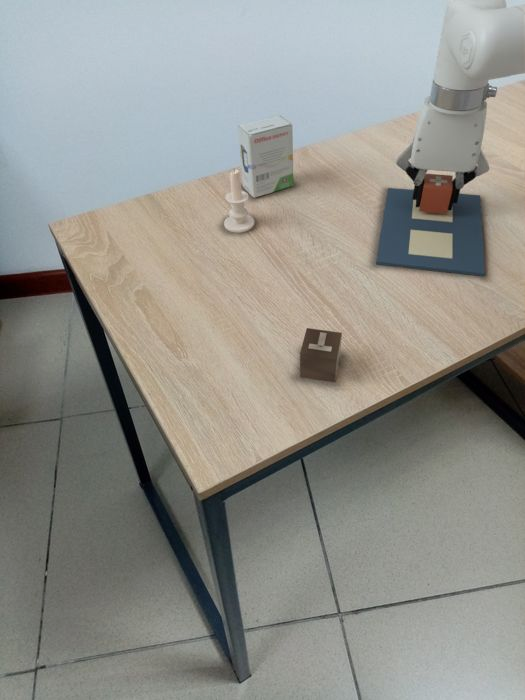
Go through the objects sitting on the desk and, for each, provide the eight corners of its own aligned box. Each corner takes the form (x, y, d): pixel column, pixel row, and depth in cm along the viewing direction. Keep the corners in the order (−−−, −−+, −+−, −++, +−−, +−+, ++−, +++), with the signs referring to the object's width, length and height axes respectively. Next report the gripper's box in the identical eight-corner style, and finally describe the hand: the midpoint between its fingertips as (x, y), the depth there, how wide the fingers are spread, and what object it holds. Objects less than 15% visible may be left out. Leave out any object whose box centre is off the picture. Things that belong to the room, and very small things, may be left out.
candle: (219, 229, 91) (212, 173, 83) (232, 213, 94) (227, 158, 86) (246, 235, 89) (241, 179, 82) (259, 219, 92) (256, 163, 85)
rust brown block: (446, 199, 91) (452, 174, 88) (446, 213, 88) (452, 189, 85) (420, 197, 92) (424, 172, 89) (419, 211, 89) (423, 186, 86)
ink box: (253, 199, 97) (249, 136, 88) (241, 186, 100) (236, 124, 92) (294, 186, 99) (294, 123, 91) (281, 174, 102) (280, 112, 94)
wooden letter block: (339, 356, 70) (342, 332, 66) (334, 382, 67) (336, 358, 63) (306, 351, 71) (306, 327, 67) (299, 377, 68) (299, 352, 64)
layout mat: (479, 198, 94) (480, 194, 93) (483, 276, 79) (485, 272, 79) (387, 190, 97) (388, 187, 96) (375, 264, 82) (376, 260, 82)
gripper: (517, 86, 78) (484, 197, 91) (399, 81, 81) (384, 188, 94) (521, 108, 73) (486, 221, 86) (396, 101, 76) (381, 212, 89)
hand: (433, 203), depth 90 cm, fingers closed on rust brown block, 4 cm apart
